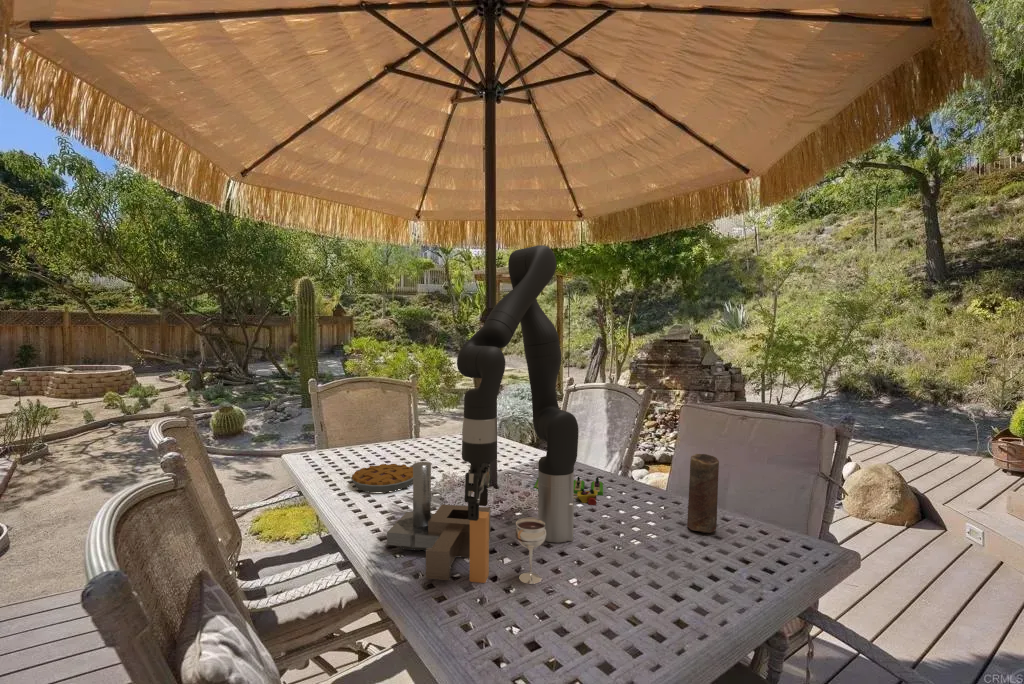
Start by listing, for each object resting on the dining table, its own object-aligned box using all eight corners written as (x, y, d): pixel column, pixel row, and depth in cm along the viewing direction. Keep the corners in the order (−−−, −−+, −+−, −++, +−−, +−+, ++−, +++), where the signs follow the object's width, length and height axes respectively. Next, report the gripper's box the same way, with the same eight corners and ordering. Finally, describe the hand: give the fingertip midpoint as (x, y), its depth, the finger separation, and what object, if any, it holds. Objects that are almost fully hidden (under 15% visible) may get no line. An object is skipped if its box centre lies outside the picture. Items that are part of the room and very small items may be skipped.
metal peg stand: (456, 532, 126) (456, 458, 126) (440, 558, 112) (440, 474, 112) (405, 529, 129) (405, 455, 128) (383, 553, 115) (383, 471, 114)
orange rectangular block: (488, 574, 105) (489, 512, 105) (485, 583, 102) (485, 518, 101) (473, 573, 106) (473, 511, 105) (469, 581, 102) (469, 517, 102)
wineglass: (536, 589, 100) (537, 532, 99) (509, 580, 103) (509, 525, 103) (551, 575, 105) (552, 521, 105) (525, 566, 109) (525, 514, 108)
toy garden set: (603, 486, 165) (603, 473, 165) (603, 507, 146) (603, 492, 146) (537, 482, 169) (537, 469, 169) (529, 502, 150) (529, 487, 150)
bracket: (490, 538, 123) (490, 507, 123) (467, 589, 100) (467, 551, 99) (441, 534, 125) (441, 504, 125) (407, 583, 102) (407, 546, 101)
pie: (429, 481, 169) (429, 467, 169) (382, 500, 150) (382, 484, 150) (386, 471, 180) (386, 457, 180) (337, 487, 162) (337, 472, 162)
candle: (717, 527, 131) (719, 455, 130) (717, 538, 124) (718, 462, 124) (688, 522, 134) (689, 452, 133) (685, 532, 127) (687, 458, 127)
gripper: (489, 447, 95) (488, 527, 96) (502, 432, 109) (501, 502, 110) (453, 444, 97) (452, 523, 97) (470, 430, 111) (469, 499, 111)
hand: (478, 512), depth 104 cm, fingers open, 8 cm apart
